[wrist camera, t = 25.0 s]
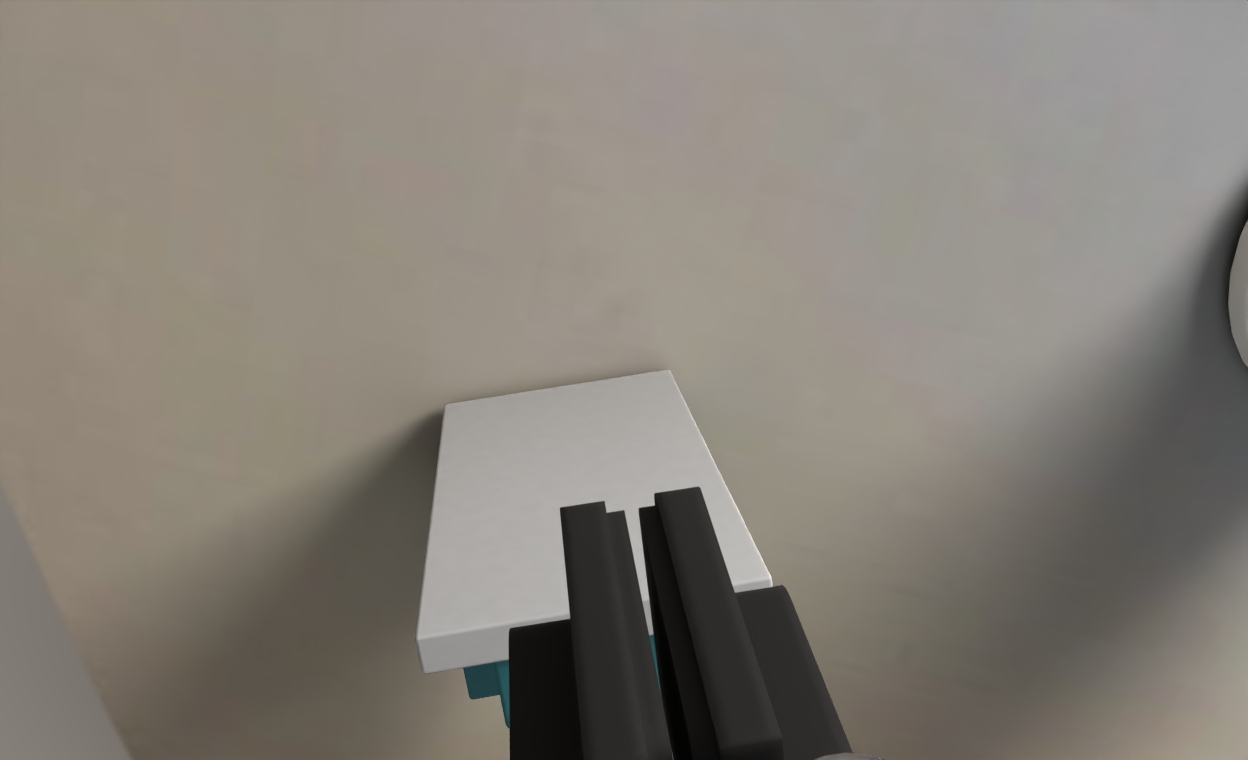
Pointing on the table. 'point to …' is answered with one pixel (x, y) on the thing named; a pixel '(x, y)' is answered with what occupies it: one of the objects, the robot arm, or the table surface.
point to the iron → (552, 510)
